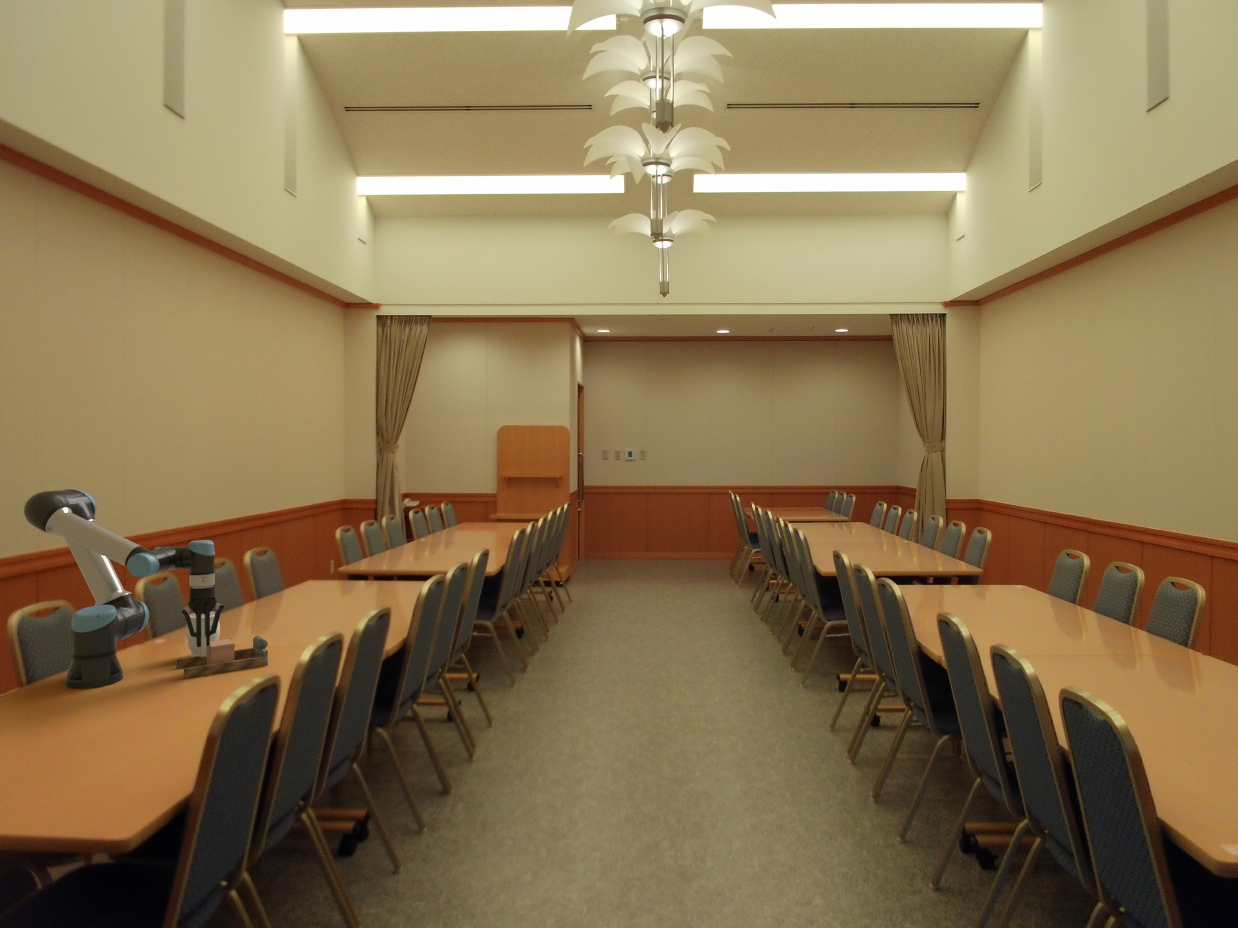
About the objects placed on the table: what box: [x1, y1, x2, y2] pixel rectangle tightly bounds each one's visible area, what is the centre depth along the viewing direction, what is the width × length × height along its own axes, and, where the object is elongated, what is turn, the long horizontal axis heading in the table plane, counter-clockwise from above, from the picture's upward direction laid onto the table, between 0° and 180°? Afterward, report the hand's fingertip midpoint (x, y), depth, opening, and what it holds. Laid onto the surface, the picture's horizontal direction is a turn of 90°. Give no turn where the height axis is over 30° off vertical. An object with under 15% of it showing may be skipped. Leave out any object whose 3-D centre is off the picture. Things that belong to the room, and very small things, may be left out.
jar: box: [185, 611, 221, 657], centre depth 268 cm, size 11×10×15 cm
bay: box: [176, 635, 269, 679], centre depth 255 cm, size 26×16×8 cm, turn 129°
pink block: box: [206, 638, 236, 665], centre depth 254 cm, size 7×8×8 cm
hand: (203, 655), depth 251 cm, fingers closed
